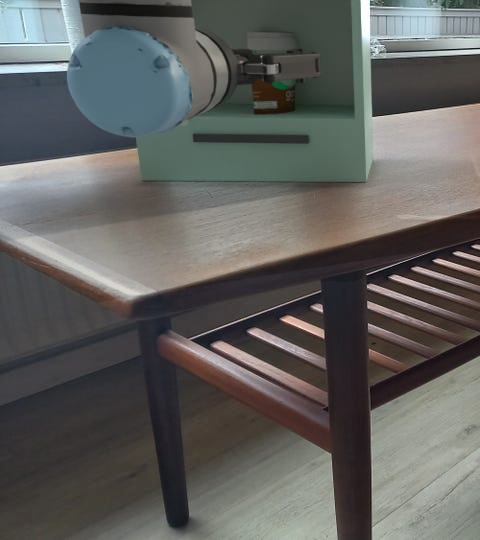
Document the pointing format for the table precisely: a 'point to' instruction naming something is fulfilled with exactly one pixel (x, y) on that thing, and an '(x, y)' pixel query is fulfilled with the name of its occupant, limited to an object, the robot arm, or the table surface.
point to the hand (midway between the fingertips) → (241, 59)
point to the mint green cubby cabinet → (284, 124)
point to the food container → (279, 93)
